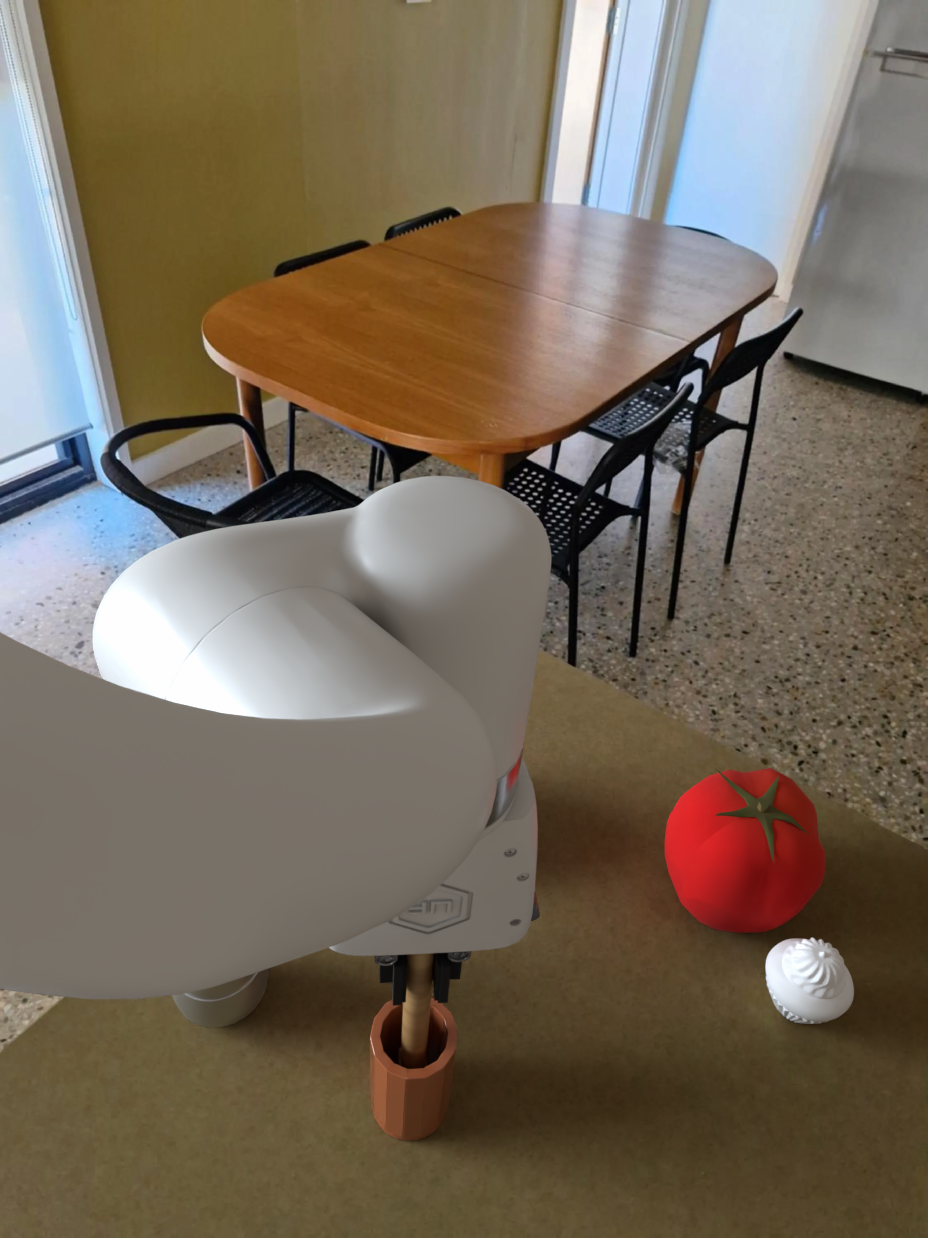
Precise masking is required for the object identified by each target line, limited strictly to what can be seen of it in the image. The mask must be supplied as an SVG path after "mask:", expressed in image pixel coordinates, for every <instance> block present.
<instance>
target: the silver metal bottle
mask: <svg viewBox="0 0 928 1238" xmlns="http://www.w3.org/2000/svg"><path fill="white" fill-rule="evenodd" d="M269 976H270V968H268V969H265V970H263V971H260V972H257V973H254V974H251V975H248V976H245V977H242V978H239V979H236V980H233V981H230V982H227V983H224V984H221V985H218V986H215V987H211V988H206V989H202V990H198V991H193V992H189V993H184V994H179V995H171V997H172V999H173V1003H174V1004H175V1005H176V1007H177V1008H178V1010H179V1011H180V1013H181V1014H182V1015H183V1016H184V1018H185V1019H187V1020H188V1021H189V1022H190V1023H193V1024H194V1025H196V1026H199V1027H203V1028H208V1029H209V1028H210V1029H216V1028H223V1027H228V1026H231V1025H234V1024H236V1023H238V1022H239V1021H241V1020H244V1019H245V1018H246V1017H247V1016H249V1015H250V1014H252V1012H253V1011H255V1009H256V1008H257V1007H258V1006H259V1004H260V1003H261V1001H262V999H263V997H264V995H265V993H266V989H267V984H268V979H269Z"/></svg>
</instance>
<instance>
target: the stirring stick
mask: <svg viewBox="0 0 928 1238" xmlns="http://www.w3.org/2000/svg"><path fill="white" fill-rule="evenodd" d="M434 959H435V953H428V954H407V987H406V1002H403V1016H402V1038H401V1048H398V1065H399V1066H402V1067H404V1068H407V1069H418V1068H425V1067H427V1042H428V1030H429V1019H430V1007H431V997H432V995H433V971H434Z"/></svg>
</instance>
